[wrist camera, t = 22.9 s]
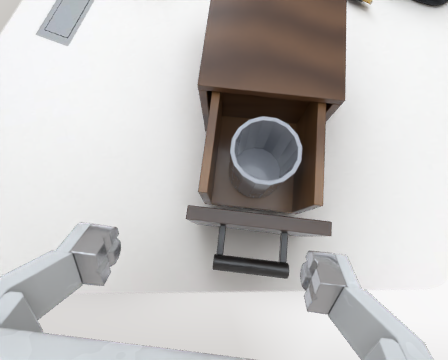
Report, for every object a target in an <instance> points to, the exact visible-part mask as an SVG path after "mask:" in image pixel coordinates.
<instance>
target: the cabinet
mask: <svg viewBox="0 0 448 360" xmlns="http://www.w3.org/2000/svg"><path fill="white" fill-rule="evenodd" d="M345 70H346V0H211V1H210V8H209V14H208V21H207V27H206V34H205V40H204V47H203V53H202V60H201V66H200V73H199V79H198V90H199V95H200V101H201V107H202V113H203V119H204V125H205V131H207V125H208V118H209V111H210V104H211V97H212V91H216V92H225V93H235V94H244V95H254V96H263V97H273V98H283V99H292V100H302V101H311V102H321V103H326V121H327V120H328V119H329V118H330V117H331V116H332V114H333V113H334V112H335V111H336V110H337V109H338V108H339V107H340V105H341V104H342V103H343V102H344V101H345Z"/></svg>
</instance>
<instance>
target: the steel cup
mask: <svg viewBox="0 0 448 360" xmlns="http://www.w3.org/2000/svg"><path fill="white" fill-rule="evenodd" d="M301 160H302V145H301V142H300V139H299V137H298V134H297V133H296V132H295V131H294V130H293V129H292V128H291V126H290V125H288V124H287V123H285V122H283V121H281V120H279V119H277V118H273V117H264V116H263V117H258V118H254V119H250V120H248V121H247V122H245V123H244V124H243V125H241V126H240V127H239V128H238V129H237V131H236V133H235V134H234V136H233V137H232V140H231V148H230V159H229V177H230V181H231V183H232V185H233V186H234V188H235V189H236V190H237V191H238V192H239V193H241V194H242V195H244V196H247V197H250V198H263V197H266V196H269V195H270V194H272V193H273V192H274V191H275V190H277V189H278V188H279V187H280V186H281V185H282V184H283V183H284V182H286V181H287V180H288V179H289V178H290V177H291V176H292V175H293V174H294V173H295V172H296V170H297V168H298V167H299V165H300V163H301Z"/></svg>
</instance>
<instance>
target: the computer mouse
mask: <svg viewBox="0 0 448 360" xmlns="http://www.w3.org/2000/svg"><path fill="white" fill-rule="evenodd" d="M358 1H360V2H363V1H364V2H367V3H369V4H371V3H372V0H358ZM416 1H419V2H421V3H424V4H428V5H440V4H444V3H446V2H448V0H416Z"/></svg>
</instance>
